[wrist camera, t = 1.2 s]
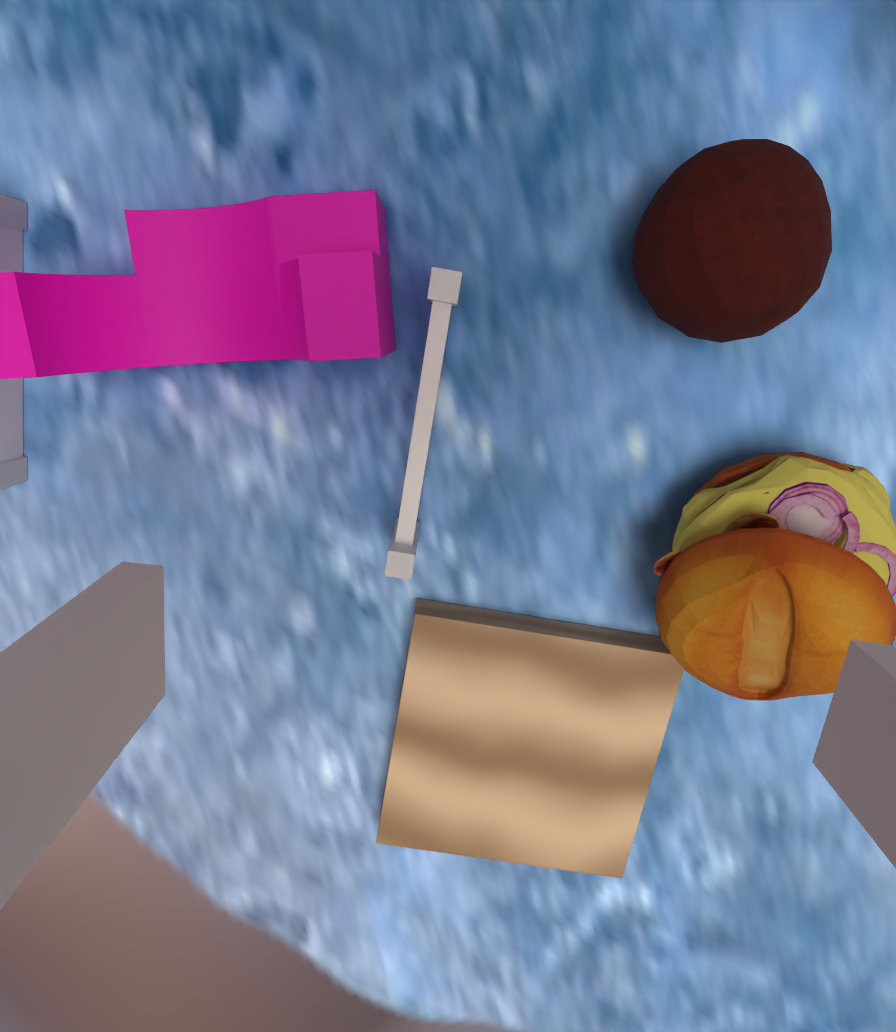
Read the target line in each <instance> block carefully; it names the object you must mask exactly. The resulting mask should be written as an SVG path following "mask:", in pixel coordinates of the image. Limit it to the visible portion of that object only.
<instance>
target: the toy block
mask: <svg viewBox="0 0 896 1032" xmlns="http://www.w3.org/2000/svg"><path fill="white" fill-rule="evenodd" d="M124 211H125V217H126V223H127V229H128V235H129V240H130V246H131V252H132V258H133V264H134V270H135V275H61V274H38V273H24V272H0V379H15V378H32V377H43V376H53V375H63V374H73V373H83V372H95V371H106V370H118V369H131V368H144V367H157V366H171V365H186V364H202V363H219V362H238V361H260V360H309V361H326V360H343V359H360V358H377V357H382V356H385V355H387V354H389V353H391V352H393V351H395V350H396V348H395V335H394V321H393V308H392V295H391V282H390V268H389V255H388V242H387V229H386V215H385V207H384V205H383V204H382V202H381V200H380V198H379V196H378V194H377V193H376V191H375V190H364V191H348V192H332V193H316V194H300V195H284V196H271V197H267V198H264V199H260V200H256V201H252V202H247V203H241V204H235V205H228V206H220V207H210V208H198V209H181V210H124Z"/></svg>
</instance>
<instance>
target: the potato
mask: <svg viewBox="0 0 896 1032" xmlns="http://www.w3.org/2000/svg"><path fill="white" fill-rule="evenodd" d="M831 251H832V238H831V210H830V207H829V203H828V200H827V196H826V193H825V189H824V186H823V182H822V180H821V179H820V177H819V176H818V174H817V173H816V171H815V170H814V168H813V167H812V165H811V164H810V162H809V161H808V160H807V159H806V158H804V157H803V156H802V155H800V154H799V153H798V152H796V151H795V150H794V149H792V148H791V147H790V146H787V145H784V144H781V143H778V142H775V141H772V140H769V139H742V140H736V141H730V142H726V143H723V144H719V145H716V146H712V147H709V148H705V149H703V150H702V151H700V152H699V153H697V154H696V155H694V156H693V157H692V158H690V159H689V160H687V161H686V162H684V163H683V164H682V165H681V166H679V167H678V168H677V169H676V170H675V171H674V172H673V173H672V175H671V176H670V177H669V178H668V179H667V180H666V181H665V183H664V184H663V185H662V186H661V187H660V188H659V189H658V191H657V193H656V194H655V196H654V198H653V199H652V201H651V203H650V204H649V206H648V208H647V209H646V211H645V213H644V215H643V216H642V219H641V221H640V224H639V227H638V230H637V232H636V235H635V238H634V247H633V258H632V264H633V268H634V272H635V275H636V279H637V283H638V287H639V290H640V291H641V293H642V294H643V296H644V297H645V299H646V300H647V301H648V303H649V304H650V306H651V307H652V309H653V310H654V312H655V313H656V314H657V316H658V317H659V318H661V319H662V320H664V321H665V322H667V323H668V324H670V325H671V326H673V327H675V328H676V329H678V330H679V331H681V332H682V333H684V334H685V335H687V336H688V337H693V338H699V339H704V340H710V341H716V342H721V343H722V342H728V341H733V340H739V339H744V338H750V337H755V336H760V335H763V334H765V333H766V332H768V331H769V330H771V329H773V328H774V327H776V326H778V325H779V324H781V323H782V322H784V321H786V320H787V319H789V318H790V317H792V316H793V315H794V314H796V313H797V312H798V311H799V310H800V309H801V308H802V307H803V306H804V304H805V303H806V302H807V301H808V300H809V299H810V298H811V296H812V295H813V294H814V293H815V292H816V291H817V290H818V288H819V287H820V285H821V282H822V279H823V276H824V273H825V270H826V266H827V263H828V260H829V257H830V254H831Z"/></svg>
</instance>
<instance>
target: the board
mask: <svg viewBox="0 0 896 1032" xmlns="http://www.w3.org/2000/svg"><path fill="white" fill-rule="evenodd" d="M683 671H684V669H683V667H682V666H681V665H680V664H679V663H678V662H677V660H676V659H675V658H674V657H673V656H672V655H671V653H670V652H669V650H668V649H667V647H666V646H665V644H664V643H663V641H662V640H661V637H658V636H652V635H646V634H639V633H633V632H627V631H620V630H614V629H608V628H602V627H595V626H589V625H583V624H576V623H570V622H564V621H558V620H551V619H545V618H539V617H532V616H526V615H520V614H513V613H507V612H501V611H495V610H488V609H482V608H476V607H469V606H463V605H457V604H451V603H444V602H438V601H432V600H425V599H419V598H417V602H416V608H415V614H414V620H413V626H412V632H411V637H410V643H409V649H408V655H407V661H406V667H405V673H404V679H403V684H402V690H401V696H400V702H399V708H398V714H397V720H396V726H395V731H394V737H393V743H392V749H391V755H390V761H389V767H388V772H387V778H386V784H385V790H384V796H383V802H382V808H381V814H380V820H379V827H378V834H377V841H376V843H379V844H386V845H393V846H400V847H407V848H414V849H421V850H428V851H435V852H442V853H449V854H456V855H463V856H470V857H477V858H484V859H491V860H498V861H505V862H512V863H519V864H526V865H533V866H540V867H547V868H554V869H561V870H568V871H575V872H582V873H589V874H596V875H603V876H610V877H617V878H622V877H623V873H624V870H625V867H626V863H627V860H628V856H629V853H630V850H631V846H632V843H633V840H634V836H635V833H636V829H637V826H638V823H639V819H640V816H641V813H642V809H643V806H644V802H645V799H646V796H647V792H648V789H649V785H650V782H651V779H652V775H653V772H654V769H655V765H656V762H657V758H658V755H659V752H660V748H661V745H662V742H663V738H664V735H665V731H666V728H667V725H668V721H669V718H670V715H671V711H672V708H673V704H674V701H675V698H676V694H677V691H678V688H679V684H680V681H681V677H682V674H683Z"/></svg>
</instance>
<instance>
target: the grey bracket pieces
mask: <svg viewBox="0 0 896 1032" xmlns="http://www.w3.org/2000/svg"><path fill="white" fill-rule="evenodd" d="M23 230H27V202H25V201H22V200H18V199H15V198H11V197H8V196H4V195H1V194H0V272H23ZM461 278H462V272H459V271H453V270H448V269H442V268H437V267H432V270H431V277H430V283H429V290H428V296H427V299H428V300H429V301H430V302H431V303H432V309H431V316H430V322H429V328H428V335H427V341H426V347H425V354H424V360H423V367H422V373H421V379H420V386H419V392H418V398H417V405H416V411H415V418H414V424H413V430H412V437H411V443H410V449H409V456H408V462H407V469H406V475H405V481H404V488H403V494H402V500H401V507H400V513H399V518H397V520H396V523H395V527H394V531H393V535H392V538H391V542H390V546H389V549H388V555H387V562H386V568H385V574H384V576H388V577H394V578H400V579H406V580H411V578H412V572H413V566H414V560H415V554H416V548H417V541H418V534H419V527H420V521H417V514H418V508H419V502H420V496H421V490H422V484H423V478H424V472H425V466H426V460H427V454H428V448H429V442H430V435H431V429H432V423H433V417H434V411H435V405H436V399H437V393H438V387H439V381H440V375H441V369H442V363H443V356H444V350H445V344H446V338H447V332H448V326H449V320H450V314H451V308H452V306H453V307H456V306H457V302H458V296H459V290H460V284H461ZM26 480H27V457H25V456H23V378H15V379H0V490H2V489H4V488H7V487H10V486H12V485H15V484H18V483H21V482H23V481H26Z"/></svg>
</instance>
